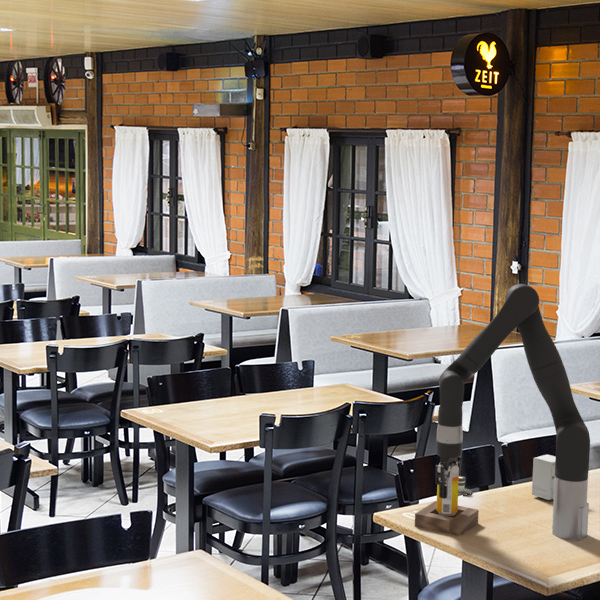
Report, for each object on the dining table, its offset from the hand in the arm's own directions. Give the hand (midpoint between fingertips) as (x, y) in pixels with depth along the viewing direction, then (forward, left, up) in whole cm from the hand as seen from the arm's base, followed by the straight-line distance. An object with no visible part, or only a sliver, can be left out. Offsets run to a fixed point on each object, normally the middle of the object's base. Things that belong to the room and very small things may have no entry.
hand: (447, 494), depth 284 cm
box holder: (0, 0, -10) cm, 10 cm away
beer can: (0, 0, -6) cm, 6 cm away
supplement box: (-15, -46, -10) cm, 49 cm away
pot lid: (+11, -34, -10) cm, 37 cm away
